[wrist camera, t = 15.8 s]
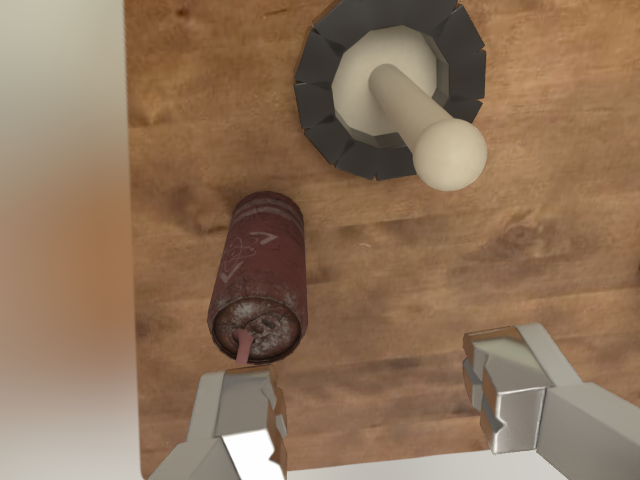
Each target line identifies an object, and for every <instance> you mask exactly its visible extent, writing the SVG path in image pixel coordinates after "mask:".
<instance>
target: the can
mask: <svg viewBox="0 0 640 480" xmlns="http://www.w3.org/2000/svg"><path fill="white" fill-rule="evenodd" d="M207 323H208V327H209V330H210V333H211V335H212V339H213V342H214V343H215V345H216V346H217V347H218V349H219V350H220V351H221V352H222V353H223V354H225V355H226V356H228V357H229V358H230V359H233V360H236V363H237V364H238V365H245V364H253V365H262V364H271V363H274V362H277V361H280V360H283V359H284V358H286V357H287V356H289V355H290V354H292V353H293V352H294V350H295V349H296V348H297V347H298V345H299V344H300V341H301V339H302V338H303V337H304V335H305V332H306V329H307V325H308V312H307V288H306V264H305V241H304V222H303V215H302V213H301V211H300V209H299V207H298V206H297V205H296V204H295V203H294V202H293V201H292V200H291V199H290V198H288V197H286V196H284V195H282V194H280V193H275V192H270V191H266V192H257V193H254V194H252V195H249V196H247V197H245V198H244V199H243V200H242V201H241V202H240V203H238V205H237V207H236V208H235V210H234V212H233V215H232V219H231V223H230V227H229V231H228V235H227V239H226V243H225V247H224V251H223V254H222V258H221V262H220V266H219V270H218V274H217V278H216V282H215V286H214V290H213V294H212V298H211V302H210V306H209V310H208V317H207Z"/></svg>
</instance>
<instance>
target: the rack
mask: <svg viewBox="0 0 640 480" xmlns="http://www.w3.org/2000/svg"><path fill="white" fill-rule="evenodd" d="M312 26H313V28H314V25H313V23H312ZM436 88H437V77H436V57H435V55H434V53H433V52H432V50H431V49H430V47H429V45H428V44H427V42H426V41H425V39H424V37H423V36H422V34H421V33H420V32H417V31H415V30H413V29H411V28H408V27H406V26H404V25H401V26H395V27H389V28H384V29H378V30H372V31H369V32H368V33H367V34H366V35H365V36H364V37H362V38H361V39H360V40H359V41H358V42H357V43H355V44H354V45H353V46H352V47H351V48H350V49H348V50H347V51H346V52H345V53H344V54H343V57H342V59H341V62H340V64H339V67H338V70H337V72H336V75H335V77H334V80H333V83H332V93H333V100H334V107H335V109H336V111H337V112H338V113H339V114H340V116H341V117H342V118H343V120H344V121H345V122H346V123H347V125H348V126H349V127H351V128H354V129H356V130H359V131H362V132H364V133H367V134H370V135H372V136H377V135H383V134H389V133H395V132H398V133H399V134H400V136H401V137H402V139H403V140H404V142H405V143H406V145H407V146H408V148H409V149H410V151H411V152H412V154H413V164H414V168H415V170H416V172H417V174H418V176H419V177H420V178H421V180H422V181H423V182H424V183H426V184H427V185H429V186H430V187H432V188H434V189H437V190H441V191H455V190H459V189H462V188H464V187H466V186H468V185H470V184H471V183H472V182H474V181H475V180H476V179H477V178H478V177H479V175H480V174H481V172H482V171H483V169H484V166H485V163H486V160H487V146H486V142H485V140H484V137H483V135H482V134H481V132H480V131H479V130H478V129H477V128H476V127H475V126H474V125H472V124H471V123H469V122H467V121H464V120H461V119H455V118H453V117H452V116H451V115H450V114H449V113H447V112H446V111H445V110H444V109H443V108H442V107H441V106H440V105H438V104H437V103H436V102H435V101H434V100H433V99H432V96H433V94H434V92H435V90H436Z"/></svg>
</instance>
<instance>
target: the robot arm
mask: <svg viewBox="0 0 640 480" xmlns="http://www.w3.org/2000/svg"><path fill="white" fill-rule="evenodd" d="M463 348H464V351H465V353H466V355H467V357H466V358H465V360H464V361H463V377H464V383H465V387H466V391H467V394H468V397H469V399H470V402H471V404H472V406H473V407H474V408H476V409H477V410H478V411H480V412H481V417H480V426H481V428H482V430H483V433H484V435H485V437H486V440H487V442H488V444H489V447H490V449H491V451H492V454H502V453H510V452H518V451H528V450H536V449H537V451H536V452H537V453H538V454H539V455H541V456H542V457H543V458H544V459H545V460H546V461H548V462H549V463H550V464H551V465H552V466H553V467H555V468H556V469H557V470H558V471H559V472H561V473H562V474H563V475H564V476H565V477H566V478H567V479H569V480H640V408H639V407H637V406H635V405H633V404H632V403H630V402H628V401H626V400H624V399H622V398H621V397H619V396H617V395H615V394H613V393H611V392H610V391H608V390H606V389H604V388H602V387H601V386H599V385H597V384H595V383H593V382H585V383H584V382H583V381H582V379H581V378H580V377H579V375H578V374H577V372H576V371H575V370H574V368H573V367H572V366H571V364H570V363H569V361H568V360H567V359H566V357H565V356H564V355H563V353H562V352H561V350H560V349H559V348H558V346H557V345H556V344H555V342H554V341H553V339H552V338H551V337H550V335H549V334H548V333H547V331H546V330H545V328H544V327H543V326H542V325H541V324H540V323H538V322H532V323H526V324H520V325H514V326H507V327H501V328H495V329H489V330H483V331H477V332H471V333H465V334H464V337H463ZM286 435H287V415H286V405H285V400H284V396H283V392H282V389H280V388H279V387H277V372H276V370H275V367H274V365H273V364H267V365H259V366H251V367H243V368H235V369H228V370H223V371H216V372H208V373H204V374H203V375H202V377H201V378H200V380H199V385H198V389H197V393H196V398H195V402H194V407H193V411H192V415H191V420H190V424H189V428H188V433H187V437H186V441H185V442H183V443H178V444H177V445H176V446H175V448H174V449H173V450H172V451H171V452H170V453H169V455H168V456H167V457H166V458H165V459H164V460H163V462H162V463H161V464H160V465H159V466H158V467H157V469H156V470H155V471H154V472H153V473H152V474H151V475H150V477H149V478H148V479H147V480H287V452H286V449H285V446H284V442H283V439H284V438H285V436H286Z"/></svg>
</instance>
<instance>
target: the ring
mask: <svg viewBox="0 0 640 480" xmlns="http://www.w3.org/2000/svg"><path fill="white" fill-rule="evenodd" d="M457 2H458V0H335V1H334V2H333V3H332V4H331V5H329V6H328V7H327V8H326V9H325V10H324V11H323V12H322V13H321V14H320V15H318V16H317V17H316V18H315V19H314V20H313V21H312V23H313V25H314V28H313V27H310V26H309V27H308V30H307V33H306V36H305V39H304V42H303V45H302V48H301V51H300V54H299V57H298V60H297V63H296V66H295V69H294V89H295V94H296V100H297V106H298V111H299V117H300V122H301V128H302V129H304V134H305V135H306V137H307V138H308V139H309V140H310V141H311V143H312V144H313V145H314V146H315V147H316V148H317V150H318V151H319V152H320V153H321V154H322V155H323V157H324V158H325V159H326V160H327V161H328V162H329V164H330V165H332V164H333V163H334V166H335V168H337V169H340V170H343V171H346V172H349V173H352V174H355V175H358V176H360V177H363V178H366V179H369V180H373V178H374V176H375V178H376V180H377V181H379V180H385V179H391V178H398V177H404V176H410V175H416V174H417V172H416V170H415V168H414V164H413V154H412V152H411V151H410V149H409V148H408V146H407V145H406V143H405V142H404V140H403V139H402V137H401V136H400V134H399V133H398V132H395V133H389V134H383V135H377V136H372V135H370V134H367V133H364V132H362V131H359V130H356V129H354V128H351V127H349V126H348V125H347V123H346V122H345V121H344V120H343V118H342V117H341V116H340V114H339V113H338V112H337V111H336V109H335V107H334V100H333V93H332V83H333V80H334V77H335V75H336V72H337V70H338V67H339V64H340V62H341V59H342V57H343V54H344V53H345V52H346V51H347V50H348V49H350V48H351V47H352V46H353V45H354V44H355V43H357V42H358V41H359V40H360V39H361V38H362V37H364V36H365V35H366V34H367V33H368V32H369V31H372V30H378V29H384V28H389V27H395V26H401V25H404V26H406V27H408V28H411V29H413V30H415V31H417V32H420V33H421V34H422V36H423V37H424V39H425V41H426V42H427V44H428V45H429V47H430V49H431V50H432V52H433V53H434V55H435V57H436V77H437V88H436V90H435V92H434V94H433V96H432V99H433V100H434V101H435V102H436V103H437V104H438V105H440V106H441V107H442V108H443V109H444V110H445V111H446V112H447V113H449V114H450V115H451V116H452V117H453V118H455V119H461V120H464V121H467V122H469V123H471V124H472V122H473V120H474V118H475V117H476V115H477V113H478V111H479V109H480V108H481V106H482V104H483V103H482V102H481V101H479V100H478V99H483V98H484V95H485V70H486V51H485V50H482V48H483V47H484V46H485V44H484V42H483V41H482V39H481V37H480V35H479V33H478V32H477V30H476V28H475V26H474V24H473V23H472V21H471V19H470V17H469V15H468V14H467V12H466V10H465V8H464V6H463V5H462V4H458V3H457Z"/></svg>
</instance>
